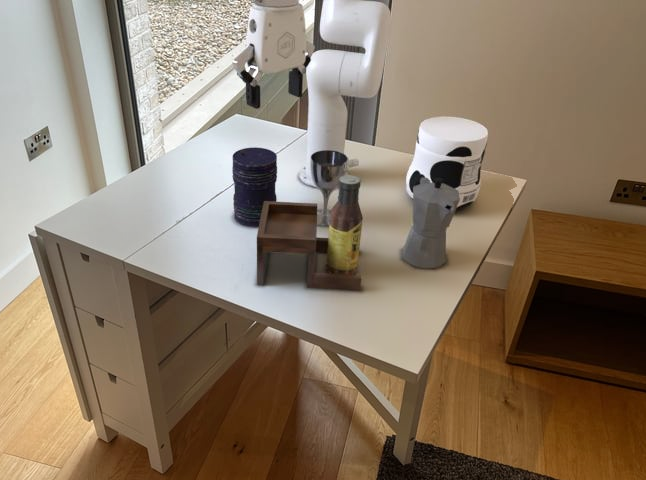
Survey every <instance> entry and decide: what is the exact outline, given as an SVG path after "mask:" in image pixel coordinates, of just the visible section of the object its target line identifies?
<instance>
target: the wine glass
mask: <svg viewBox="0 0 646 480" xmlns="http://www.w3.org/2000/svg"><path fill="white" fill-rule="evenodd" d="M347 157H348V156H347V155H346V154H345V153H344V154H343V153H341V152H337V151H332V150H323V151H318V152H315V153H313V154H312V155H311V163H310V169H311V176H312V180H313V183H314V184H315V186H316V187H315V188H317V189H318V190H319V192H320V193H321V195H322V198H323V210H317V226H319V227H329V225H330V219H331V211H330V210H328V205H329V200H330V197H331V195H332V194H333V192H335V191H336V190H337V189H339V178H340V177H341V176H345V173H346V171H347V170H348V169H347Z"/></svg>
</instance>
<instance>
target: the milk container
mask: <svg viewBox="0 0 646 480" xmlns="http://www.w3.org/2000/svg"><path fill="white" fill-rule="evenodd" d="M488 132H489V131H488V128H487V127H485V126H484V125H483V124H481V123H479V122H477V121H475V120H471V119H468V118H464V117H458V116H445V115H443V116H433V117H430V118H426V119H424V120H423V121H422V122H421V123H420V125H419V128H418V131H417V136H416V137H417V138H416V140H415V146H414V154H413V159H412V162H411V164H410V165H409V168H408V170H407V173H406V177H405V190H406V193H407V196H408V197H409V198H411V200H413V187H414V179H415V178H416V177H417V176H418V175H419V174H423V175H424V176H425V178H428V179H429V180H430V183H434V179H435V178H441V179H443V182H442V183H443V184H446V185H448V186H450V187H452V188H454V189H456V190H458V192H459V197H460V200H459V203H458V205H457V208H456V210H455V211H457V210H462V209H465V208H467V207H470V206H471V205H472V204H473V203H475V201H476V199H477V198H478V195H479V193H480V190H481V185H482V173H481V171H482V164H483V160H484V157H485V153H486V148H487V145H488V138H489V133H488Z"/></svg>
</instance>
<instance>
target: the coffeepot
mask: <svg viewBox="0 0 646 480" xmlns="http://www.w3.org/2000/svg"><path fill="white" fill-rule="evenodd" d="M442 182H443V179H441V178H435V179H434V183H430V180H429V179H428V178H425V176H424V175H423V174H419V175H418V176H417V177H416V178H415V179H414V187H413V199H412V225H411V227H410V229H409V232H408V235H407V238H406V240H405V242H404V245H403V248H402V259H403V260H404V261H405V262H407V263H408V264H409V265H411V266H412V267H415V268H419V269H425V270H426V269H428V270H429V269H437V268H439V267H441V266H442V265H444V264H445V263H446V255H447V253H446V251H447V229H448V228H450V225H451V222H452V220H453V219H454V215H455V213H456V211H457V210H456V208H457V205H458V203H459V200H460V197H459V192H458V190H456V189H454V188H452V187H450V186H448V185H446V184H443V183H442Z"/></svg>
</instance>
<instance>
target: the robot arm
mask: <svg viewBox="0 0 646 480" xmlns="http://www.w3.org/2000/svg"><path fill="white" fill-rule="evenodd" d="M249 1H250V2H252V5H251V6H250V9H249V13H248V19H247V28H246V29H247V30H246V44H245V45H246V47H245V49H244V50H243V51H242V52H240V53H239V54H238V55H237V56H236V57H235V58H234V59H233V60H232V66H233V67H234V69H235V71H236V75H237V76H238V77H239V78H240V79H241V81H242V82H243V83H244V84H245V100H246V105H247V106H249V107H251V108H254V109H256V110H258V109H260V108H261V85H259V82H260V80H261V78H262V77H263V75H264V74H265V75H272V74H275V73H280V72H283V71H284V72H285V71H288V70H290V71H288V86H287V87H288V91H287V92H288V94H289V95H291V96H294V97H297V98H302V97H303V86H304V83H303V82H304V81H303V80H304V75H305V77H306V85H307V93H308V107H307V108H308V110H307V111H308V112H307V132H306V133H307V134H306V153H305V154H306V156H305V166H303V167H302V168H301V169H300V170H299V175H298V176H299V180H301V182H303V183H304V184H305V185H308V186H309V187H314V188H317V187H316V186H315V184H314V183H313V180H312V176H311V169H310V163H311V155H312V154H313V153H315V152H318V151H323V150H332V151H337V152H341V153H343V154H345V148H346V136H347V125H348V108H347V105H346V103H345V101H344V99H343V97H342V96H344V97H352V98H358V99H359V98H360V99H361V98H362V99H371V98H373V97H375V96H376V95H377V94H378V92H379V90H380V87H381V84H382V79H383V74H384V69H385V61H386V57H387V51H388V45H389V40H390V34H391V27H392V26H391V25H392V15H391V10H390V8H389V6H388V5H387V4H386V3H384V2H382V1H376V0H322V6H321V14H320V19H319V20H320V22H319V35H320V38H321V39H322V40H323V41H324V42H327V43H330V44H335V45H342V46H348V47H349V46H350V47H357V48H358V47H359V48H363V49H364V50H365V52H363V53H361V52H355V51H354V52H353V51H346V50H338V49H326V48H325V49H320V50H316V51H315V49H316V46H315V44H314V43H311V42H310V41H307V35H306V34H307V31H306V17H305V11H304V6H303V4H302V3H300V0H249ZM246 65H247V67H248V68H247V69H246ZM359 163H360V161H359V159H358V158H353V159H349V157H348V156H347V169H346V173H345V175H349V173H348V171H347V170H349V169H350V168H354V167H358V166H359Z"/></svg>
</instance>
